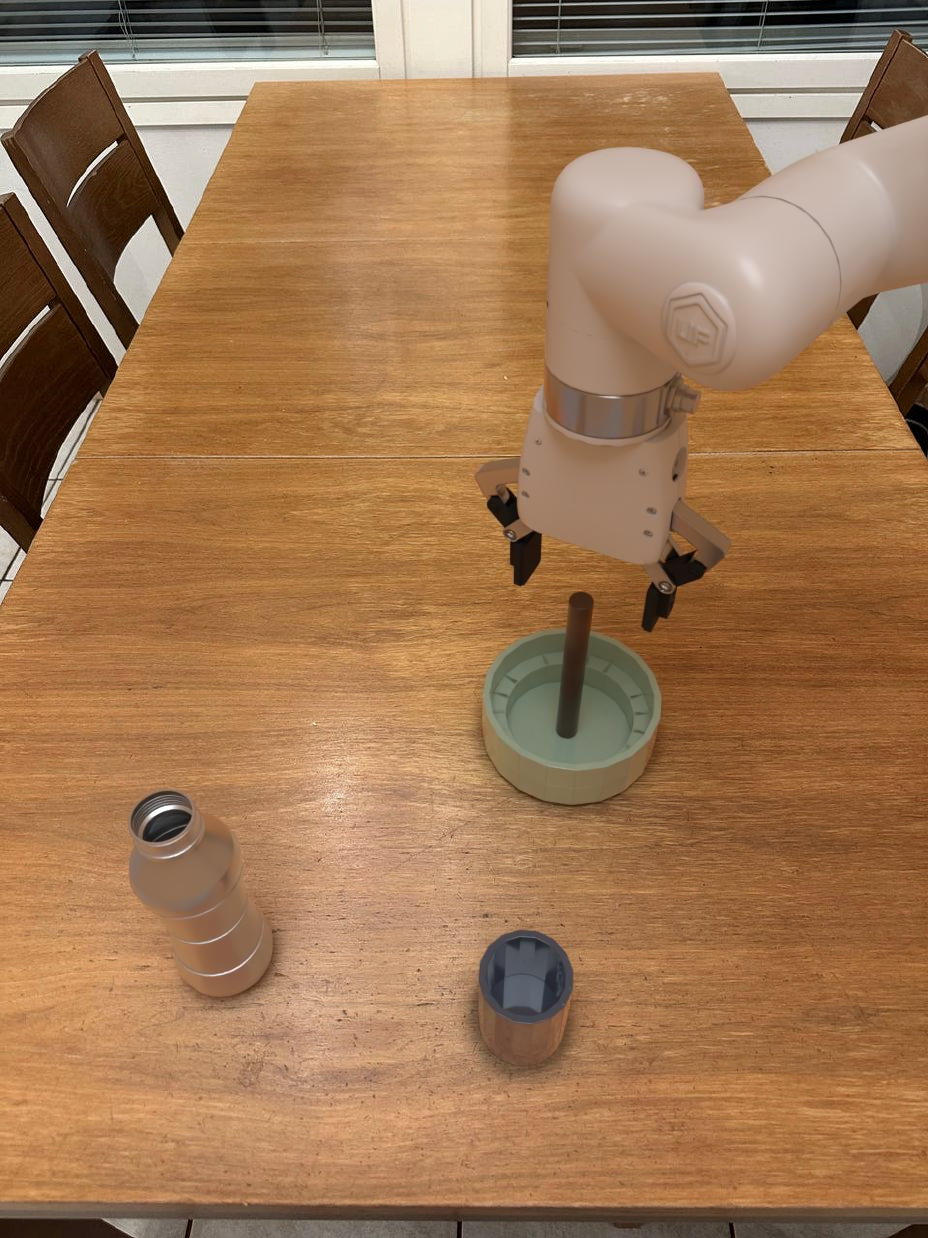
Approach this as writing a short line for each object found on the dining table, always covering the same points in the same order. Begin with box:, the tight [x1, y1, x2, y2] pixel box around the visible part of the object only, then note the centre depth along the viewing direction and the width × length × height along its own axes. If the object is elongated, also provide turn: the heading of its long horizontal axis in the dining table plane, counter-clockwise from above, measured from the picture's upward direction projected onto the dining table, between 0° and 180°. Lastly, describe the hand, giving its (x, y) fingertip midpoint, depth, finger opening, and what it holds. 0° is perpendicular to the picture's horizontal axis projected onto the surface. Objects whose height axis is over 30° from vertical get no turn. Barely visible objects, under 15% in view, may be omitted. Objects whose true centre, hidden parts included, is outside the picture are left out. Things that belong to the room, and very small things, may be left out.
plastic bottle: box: [127, 788, 274, 998], centre depth 60 cm, size 6×7×20 cm
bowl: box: [481, 627, 663, 806], centre depth 78 cm, size 14×14×6 cm
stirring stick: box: [556, 591, 595, 739], centre depth 74 cm, size 2×2×16 cm
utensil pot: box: [477, 929, 574, 1067], centre depth 61 cm, size 6×6×8 cm
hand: (588, 595), depth 67 cm, fingers open, 9 cm apart
